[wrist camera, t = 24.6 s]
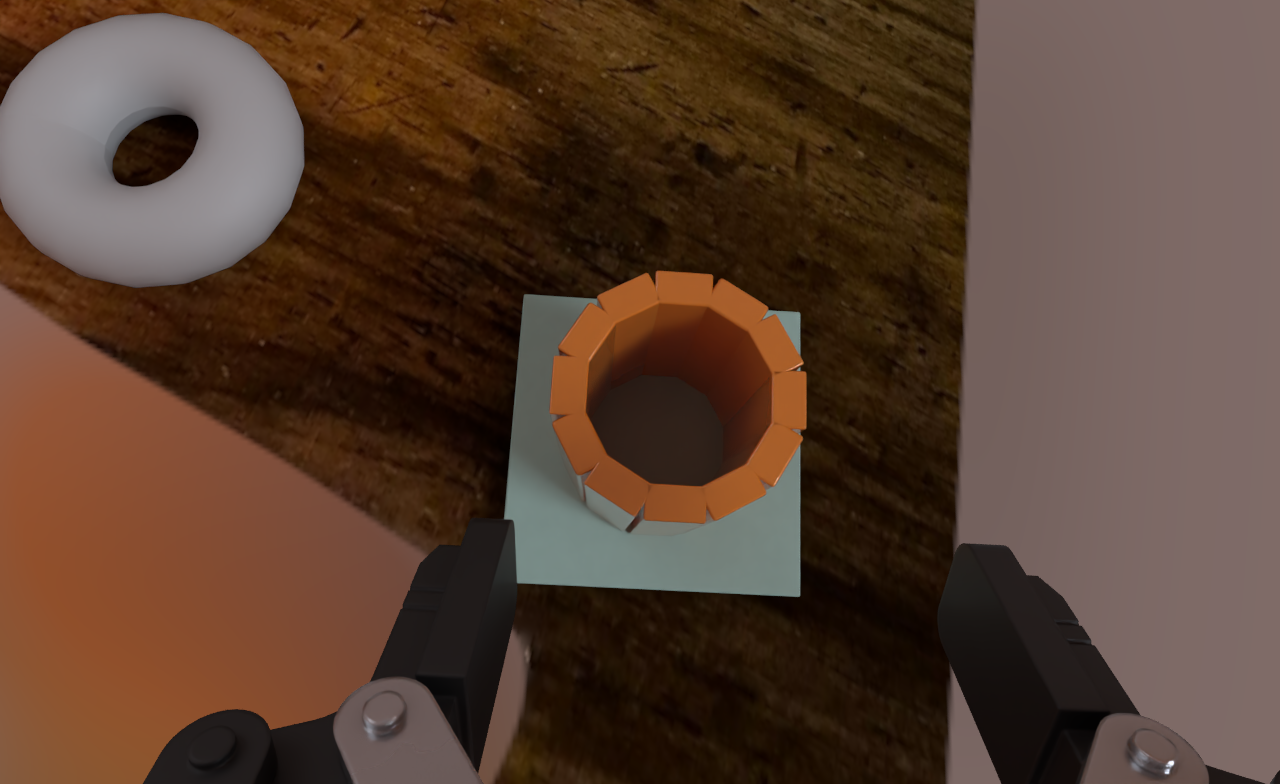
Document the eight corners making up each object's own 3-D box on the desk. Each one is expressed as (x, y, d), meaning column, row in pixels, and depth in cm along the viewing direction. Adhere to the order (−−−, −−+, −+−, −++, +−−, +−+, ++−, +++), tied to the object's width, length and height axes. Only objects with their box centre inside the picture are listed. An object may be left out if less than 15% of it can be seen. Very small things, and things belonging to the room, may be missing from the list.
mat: (796, 317, 28) (800, 312, 28) (795, 596, 26) (800, 596, 25) (525, 299, 28) (523, 293, 27) (500, 581, 25) (498, 582, 25)
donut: (343, 266, 28) (293, 30, 30) (309, 226, 24) (254, -37, 26) (55, 331, 27) (21, 82, 28) (-23, 299, 23) (-55, 19, 25)
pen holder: (749, 357, 27) (807, 279, 20) (746, 540, 26) (807, 528, 18) (569, 346, 27) (560, 262, 20) (556, 530, 25) (540, 514, 18)
